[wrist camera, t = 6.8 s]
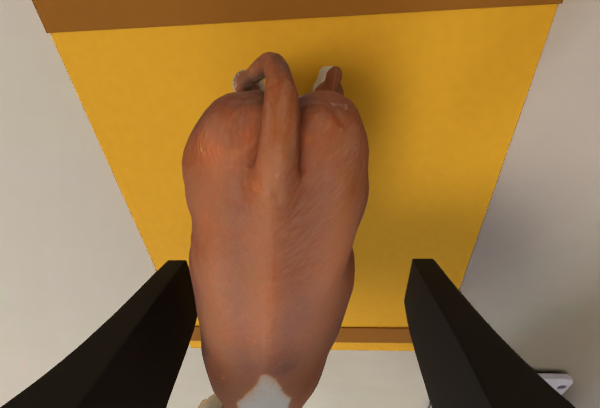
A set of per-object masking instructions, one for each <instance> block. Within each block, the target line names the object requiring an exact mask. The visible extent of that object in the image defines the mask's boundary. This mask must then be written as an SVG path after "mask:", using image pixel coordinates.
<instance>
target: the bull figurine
mask: <svg viewBox="0 0 600 408" xmlns="http://www.w3.org/2000/svg"><path fill="white" fill-rule="evenodd" d="M263 79H265V84H264V81H263ZM341 79H342V71H341V69H340V68H339V67H337V66H324V67H322V68H321V69H320V71H319V75H318V78H317V81H316V82H315V83H314V84H313V87H312V92H309V93H305V94H303V95H301V96H299V97H298V92H297V89H296V86H295V83H294V80H293V77H292V74H291V71H290V68H289V65H288V64H287V62H286V61H285V59H284V58H283V57H282V56H281V55H280V54H278V53H273V52H266V53H263V54H262V55H260V56H259V57H258V58H257V59H256V60H255V61H254V62H253V63H252V64H251V65H250V66H249V68H248V69H247V70H241V71H239V72H237V73H236V74H235V76H234V78H233V82H232V88H233V90H234V92H232V93H227V94H225V95H223V96H221V97H219V98H217V99H216V100H214V101H213V102H212V103H211V105H210V106H209V107H208V108H207V109H206V110H205V111H204V113H203V114H202V116H201V117H200V119H199V120H198V122H197V123H196V125H195V126H194V128H193V130H192V132H191V134H190V135H189V138H188V140H187V143H186V145H185V148H184V151H183V157H182V174H183V181H184V185H185V197H186V202H187V206H188V209H189V212H190V215H191V218H192V233H191V247H190V251H189V270H190V276H191V281H192V285H193V291H194V298H195V304H196V310H197V315H198V320H199V326H200V333H201V348H202V356H203V360H204V364H205V368H206V371H207V374H208V377H209V380H210V383H211V386H212V388H213V391H214V394H213V395H212V396H210V397H209V398H208V399H205V400H203V401H202V402H201V403H200V405H199V406H198V408H302V407H303V405H304V404H305V402H306V401H307V400H308V399H309V397H310V396H311V395H312V393H313V392H314V390H315V388H316V386H317V384H318V382H319V380H320V377H321V375H322V372H323V369H324V366H325V362H326V359H327V356H328V353H329V351H330V349H331V348H332V346H333V344H334V342H335V340H336V338H337V336H338V334H339V331H340V328H341V325H342V321H343V318H344V315H345V312H346V309H347V306H348V303H349V300H350V297H351V294H352V291H353V286H354V279H355V257H354V251H353V248H352V246H353V243H354V239H355V236H356V232H357V229H358V227H359V225H360V223H361V220H362V218H363V215H364V212H365V209H366V205H367V202H368V196H369V177H368V161H369V145H368V139H367V134H366V131H365V128H364V125H363V123H362V120H361V117H360V114H359V111H358V109H357V108H356V106H355V105H354V104H353V102H352V101H351V100H350V99H348V98H347V97H345V96H344V91H343V88H342V85H341Z"/></svg>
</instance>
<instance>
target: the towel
mask: <svg viewBox="0 0 600 408" xmlns="http://www.w3.org/2000/svg"><path fill="white" fill-rule="evenodd" d="M32 1H33V4H34V6H35V8H36V10H37V13H38V15H39V17H40V19H41V21H42V24H43V26H44V28H45V30H46V32H47V33H50V34H51V36H52V38H53V41H54V43H55V45H56V47H57V50H58V52H59V54H60V56H61V58H62V61H63V63H64V65H65V67H66V70H67V72H68V74H69V76H70V78H71V81H72V83H73V85H74V87H75V90H76V92H77V94H78V96H79V99H80V101H81V103H82V105H83V107H84V110H85V112H86V114H87V116H88V119H89V121H90V123H91V125H92V128H93V130H94V132H95V134H96V136H97V139H98V141H99V143H100V145H101V148H102V150H103V152H104V154H105V156H106V159H107V161H108V163H109V165H110V168H111V170H112V172H113V174H114V177H115V179H116V181H117V183H118V185H119V188H120V190H121V192H122V194H123V197H124V199H125V201H126V203H127V206H128V208H129V210H130V212H131V214H132V217H133V219H134V221H135V223H136V226H137V228H138V230H139V232H140V234H141V237H142V239H143V241H144V243H145V246H146V248H147V250H148V252H149V255H150V257H151V259H152V261H153V263H154V266H155V268H156V270H157V271H158V270H159V269H160V268H161V267H162V266H163V265H164V264H165V263H166V262H167V261H168V260H186V261H187V264H188V267H189V251H190V247H191V233H192V218H191V215H190V212H189V209H188V206H187V202H186V197H185V185H184V181H183V174H182V157H183V151H184V148H185V145H186V143H187V140H188V138H189V135H190V134H191V132H192V130H193V128H194V126H195V125H196V123H197V122H198V120H199V119H200V117H201V116H202V114H203V113H204V111H205V110H206V109H207V108H208V107H209V106H210V105H211V103H212V102H213V101H214V100H216V99H217V98H219V97H221V96H223V95H225V94H227V93H232V92H234V90H233V88H232V82H233V78H234V76H235V74H236V73H237V72H239V71H241V70H247V69H248V68H249V66H250V65H251V64H252V63H253V62H254V61H255V60H256V59H257V58H258V57H259V56H260V55H262V54H263V53H266V52H273V53H278V54H280V55H281V56H282V57H283V58H284V59H285V61H286V62H287V64H288V65H289V68H290V71H291V74H292V77H293V80H294V83H295V86H296V89H297V92H298V97H299V96H301V95H303V94H305V93H309V92H312V87H313V84H314V83H315V82H316V81H317V78H318V75H319V71H320V69H321V68H322V67H324V66H337V67H339V68H340V69H341V71H342V79H341V85H342V88H343V91H344V96H345V97H347V98H348V99H350V100H351V101H352V102H353V104H354V105H355V106H356V108H357V109H358V111H359V114H360V117H361V120H362V123H363V125H364V128H365V131H366V134H367V139H368V145H369V161H368V177H369V196H368V202H367V205H366V209H365V212H364V215H363V218H362V220H361V223H360V225H359V227H358V229H357V232H356V236H355V239H354V243H353V246H352V248H353V251H354V257H355V279H354V286H353V291H352V294H351V297H350V300H349V303H348V306H347V309H346V312H345V315H344V318H343V321H342V325H341V328H340V331H339V334H338V336H337V338H336V340H335V342H334V344H333V346H332V348H331V349H330V350H388V351H415V350H414V346H413V343H412V340H411V336H410V333H409V327H408V322H407V317H406V311H405V305H404V298H405V293H406V288H407V283H408V278H409V274H410V269H411V264H412V259H434V260H435V261H436V262H437V264H438V265H439V266H440V267H441V269H442V270H443V271H444V272H445V274H446V275H447V276H448V277H449V279H450V280H451V281H452V282H453V284H454V285H455V286H456V287H457V288H458V290H459V289H460V286H461V283H462V280H463V277H464V274H465V271H466V269H467V266H468V263H469V260H470V257H471V254H472V251H473V248H474V246H475V243H476V240H477V237H478V234H479V231H480V228H481V225H482V223H483V220H484V217H485V214H486V211H487V208H488V205H489V202H490V200H491V197H492V194H493V191H494V188H495V185H496V182H497V179H498V177H499V174H500V171H501V168H502V165H503V162H504V159H505V156H506V154H507V151H508V148H509V145H510V142H511V139H512V136H513V133H514V131H515V128H516V125H517V122H518V119H519V116H520V113H521V110H522V108H523V105H524V102H525V99H526V96H527V93H528V90H529V87H530V85H531V82H532V79H533V76H534V73H535V70H536V67H537V64H538V62H539V59H540V56H541V53H542V50H543V47H544V44H545V41H546V39H547V36H548V33H549V30H550V27H551V24H552V21H553V18H554V16H555V13H556V10H557V7H558V4H560V3H562V2H563V0H32ZM263 81H264V84H265V79H263ZM189 344H190V346H191V348H201V333H200V326H199V320H198V316H197V320H196V324H195V328H194V332H193V334H192V337H191V340H190V343H189Z"/></svg>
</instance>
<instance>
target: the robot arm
mask: <svg viewBox="0 0 600 408" xmlns="http://www.w3.org/2000/svg"><path fill="white" fill-rule="evenodd" d="M404 305H405V311H406V317H407V322H408V327H409V333H410V336H411V340H412V343H413V346H414V350H415V353H416V356H417V360H418V363H419V366H420V370H421V373H422V376H423V380H424V383H425V386H426V390H427V393H428V396H429V400H430V403H431V405H430V407H429V408H575V407H574V406H573V405H572V404H571V403H570V402H569V401H567V400H566V399H565V398H564V397H563V396H562V395H563V394H564V392H565V391H566V390H567V389H568V388H569V387H570V386H571V385H572V383H573V380H572V378H571V377H570V375H568V374H557V373H536V372H535V371H534V370H533V369H532V368H531V367H530V366H529V365H528V364H527V363H526V362H525V361H524V360H523V359H522V358H521V357H520V356H519V355H518V354H517V353H516V352H515V351H514V350H513V349H512V348H511V347H510V346H509V345H508V344H507V343H506V342H505V341H504V340H503V339H502V338H501V337H500V336H499V335H498V334H497V333H496V332H495V331H494V330H493V328H492V327H491V326H490V325H489V324H488V323H487V322H486V321H485V320H484V319H483V317H482V316H481V315H480V314H479V313H478V312H477V311H476V310H475V308H474V307H473V306H472V305H471V304H470V303H469V302H468V300H467V299H466V298H465V297H464V296H463V295H462V293H461V292H460V291H459V290H458V288H457V287H456V286H455V285H454V284H453V282H452V281H451V280H450V279H449V277H448V276H447V275H446V274H445V272H444V271H443V270H442V269H441V267H440V266H439V265H438V264H437V262H436V261H435V260H434V259H412V264H411V269H410V274H409V278H408V283H407V288H406V293H405V298H404ZM197 316H198V315H197V310H196V304H195V298H194V291H193V285H192V281H191V276H190V270H189V267H188V264H187V261H186V260H168V261H167V262H166V263H165V264H164V265H163V266H162V267H161V268H160V269H159V270H158V271H157V272H156V273H155V274H154V275H153V276H152V277H151V278H150V279H149V280H148V281H147V282H146V283H145V284H144V285H143V286H142V287H141V288H140V289H139V290H138V291H137V292H136V293H135V294H134V295H133V296H132V297H131V298H130V299H129V300H128V301H127V302H126V303H125V304H124V305H123V306H122V307H121V308H120V309H119V310H118V311H117V312H116V313H115V314H114V315H113V316H112V317H111V318H110V319H108V320H107V321H106V322H105V323H104V324H103V325H102V326H101V327H100V328H99V329H98V330H96V331H95V332H94V333H93V334H92V335H91V336H90V337H89V338H88V339H87V340H86V341H85V342H83V343H82V344H81V345H80V346H79V347H78V348H77V349H75V350H74V351H73V352H72V353H71V354H69V355H68V356H67V357H66V358H65V359H63V360H62V361H61V362H60V363H59V364H57V365H56V366H55V367H54V368H52V369H51V370H50V371H49V372H47V373H46V374H45V375H44V376H42V377H41V378H40V379H38V380H37V381H36V382H35V383H33V384H32V385H30V386H29V387H28V388H26V389H25V390H24V391H22V392H21V393H20V394H18V395H17V396H16V397H14V398H13V399H11V400H10V401H9V402H7V403H6V404H5V405H3V406H2V407H1V408H166V406H167V403H168V400H169V397H170V395H171V392H172V389H173V387H174V384H175V381H176V378H177V376H178V373H179V370H180V368H181V365H182V362H183V359H184V357H185V354H186V351H187V348H188V346H189V343H190V340H191V337H192V334H193V332H194V328H195V324H196V320H197Z"/></svg>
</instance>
